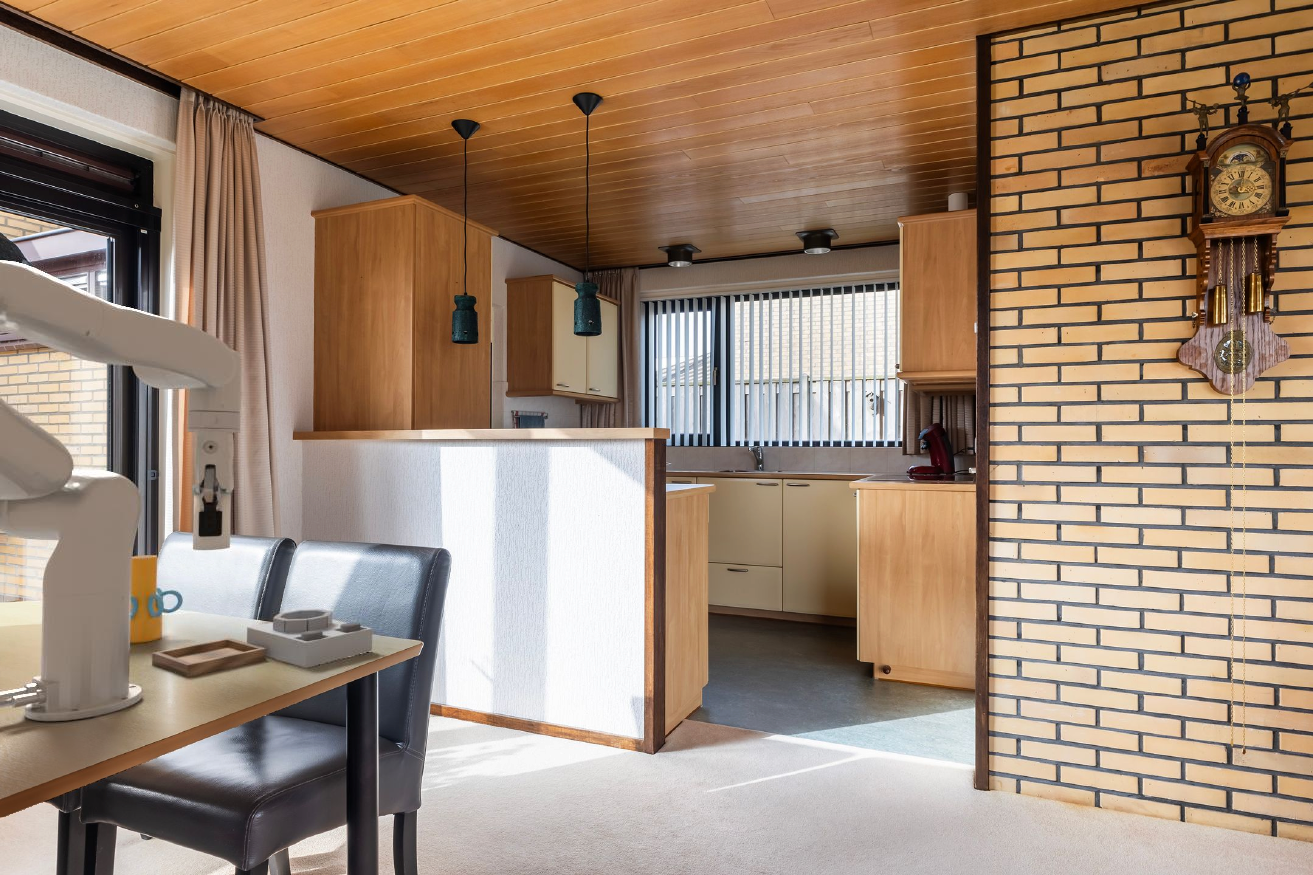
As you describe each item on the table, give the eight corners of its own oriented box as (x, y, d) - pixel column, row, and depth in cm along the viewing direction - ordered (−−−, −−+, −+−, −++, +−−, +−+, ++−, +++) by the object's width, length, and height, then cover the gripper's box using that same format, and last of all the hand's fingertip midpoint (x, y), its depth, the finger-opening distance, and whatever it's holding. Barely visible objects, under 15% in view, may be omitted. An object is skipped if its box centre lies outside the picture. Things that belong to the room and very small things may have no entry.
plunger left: (307, 657, 121) (308, 636, 121) (296, 654, 122) (297, 633, 122) (326, 653, 123) (326, 632, 123) (315, 650, 125) (315, 629, 125)
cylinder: (91, 641, 135) (93, 557, 135) (153, 629, 144) (154, 551, 144) (129, 650, 129) (131, 562, 129) (191, 637, 138) (192, 555, 139)
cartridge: (229, 549, 122) (231, 481, 122) (189, 551, 119) (190, 482, 119) (232, 545, 127) (233, 480, 127) (193, 546, 124) (195, 481, 124)
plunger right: (347, 648, 126) (347, 627, 126) (336, 645, 128) (336, 625, 128) (364, 644, 129) (364, 624, 129) (353, 641, 131) (353, 621, 131)
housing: (305, 667, 119) (306, 630, 119) (246, 650, 129) (247, 615, 130) (371, 651, 129) (372, 616, 129) (312, 636, 139) (312, 604, 139)
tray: (187, 676, 114) (187, 665, 114) (152, 663, 121) (152, 652, 121) (265, 659, 124) (266, 648, 124) (229, 648, 131) (229, 637, 131)
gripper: (236, 422, 117) (234, 539, 117) (243, 425, 133) (241, 528, 132) (180, 421, 114) (177, 541, 114) (193, 424, 129) (191, 530, 129)
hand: (212, 533), depth 123 cm, fingers closed on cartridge, 5 cm apart
